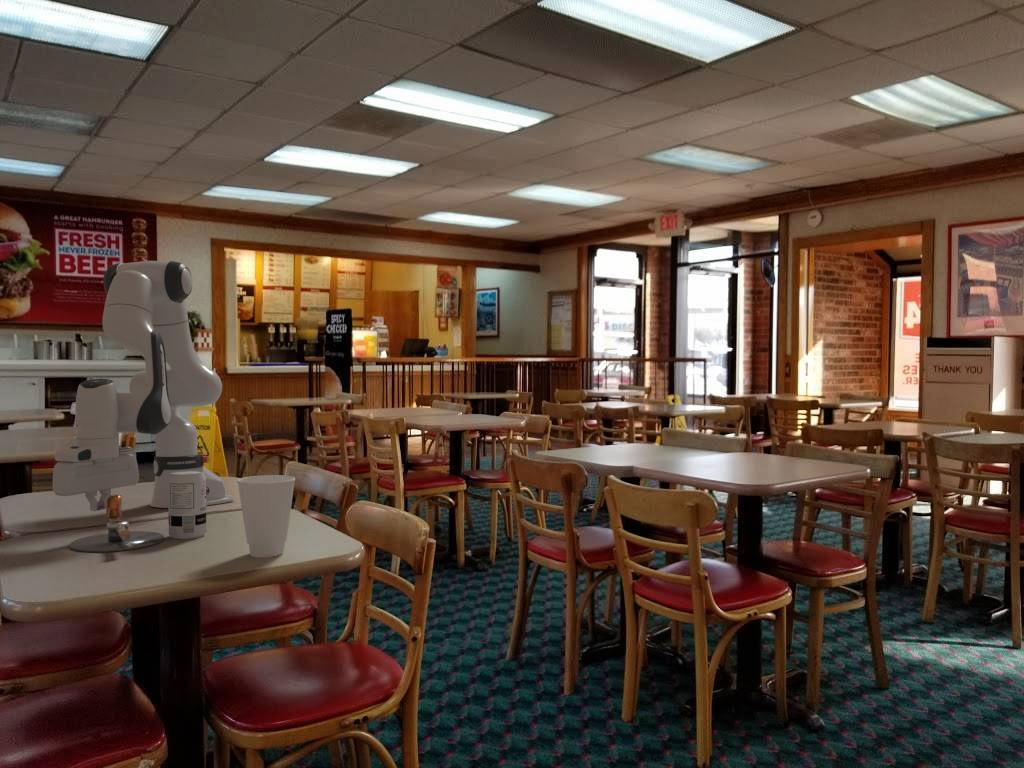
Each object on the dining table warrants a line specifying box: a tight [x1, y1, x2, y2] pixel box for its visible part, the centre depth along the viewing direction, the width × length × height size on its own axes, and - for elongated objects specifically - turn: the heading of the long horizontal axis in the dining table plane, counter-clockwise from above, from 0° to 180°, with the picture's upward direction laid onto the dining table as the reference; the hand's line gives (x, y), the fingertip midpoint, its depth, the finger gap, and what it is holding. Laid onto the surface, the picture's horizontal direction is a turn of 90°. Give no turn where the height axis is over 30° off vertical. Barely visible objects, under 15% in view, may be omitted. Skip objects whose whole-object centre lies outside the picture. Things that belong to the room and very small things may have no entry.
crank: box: [105, 494, 131, 541], centre depth 180 cm, size 25×4×6 cm, turn 32°
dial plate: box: [69, 528, 165, 553], centre depth 183 cm, size 19×19×3 cm
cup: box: [236, 474, 296, 558], centre depth 172 cm, size 12×12×16 cm
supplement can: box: [167, 471, 207, 540], centre depth 189 cm, size 8×8×15 cm
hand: (98, 509), depth 186 cm, fingers closed
